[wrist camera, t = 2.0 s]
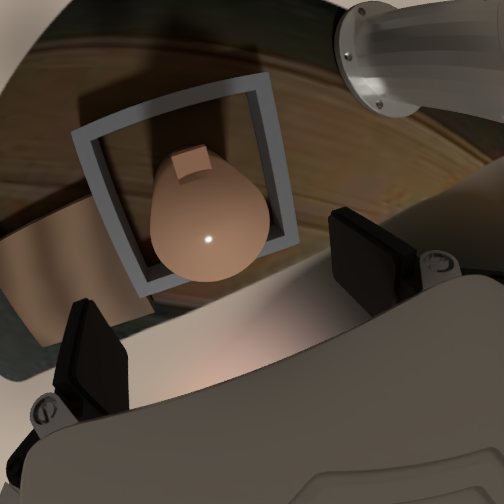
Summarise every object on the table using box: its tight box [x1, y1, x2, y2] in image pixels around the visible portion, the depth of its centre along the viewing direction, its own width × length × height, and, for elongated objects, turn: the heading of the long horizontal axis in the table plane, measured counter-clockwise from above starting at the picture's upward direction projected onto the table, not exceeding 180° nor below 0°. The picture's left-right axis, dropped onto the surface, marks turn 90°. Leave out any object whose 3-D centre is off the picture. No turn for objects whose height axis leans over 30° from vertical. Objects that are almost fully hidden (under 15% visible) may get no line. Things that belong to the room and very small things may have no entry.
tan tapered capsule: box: [150, 144, 270, 282], centre depth 19 cm, size 6×9×10 cm, turn 12°
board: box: [0, 193, 155, 347], centre depth 22 cm, size 14×12×1 cm
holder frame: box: [71, 72, 300, 298], centre depth 22 cm, size 14×14×2 cm
